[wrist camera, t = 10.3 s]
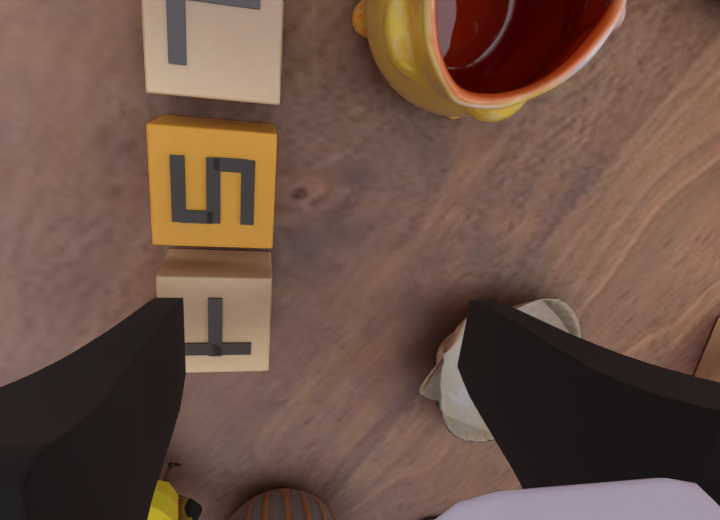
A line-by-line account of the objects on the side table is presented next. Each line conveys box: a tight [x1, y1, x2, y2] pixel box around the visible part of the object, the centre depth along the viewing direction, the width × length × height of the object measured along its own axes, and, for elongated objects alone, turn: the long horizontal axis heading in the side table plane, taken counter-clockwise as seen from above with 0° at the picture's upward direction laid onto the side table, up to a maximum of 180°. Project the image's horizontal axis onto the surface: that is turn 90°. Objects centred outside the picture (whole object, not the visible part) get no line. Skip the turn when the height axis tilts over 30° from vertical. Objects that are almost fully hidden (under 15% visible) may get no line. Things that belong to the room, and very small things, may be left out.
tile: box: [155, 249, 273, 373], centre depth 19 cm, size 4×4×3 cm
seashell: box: [419, 298, 582, 442], centre depth 23 cm, size 8×3×8 cm
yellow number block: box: [146, 115, 277, 248], centre depth 17 cm, size 4×4×3 cm
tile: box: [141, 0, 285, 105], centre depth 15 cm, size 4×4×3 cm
